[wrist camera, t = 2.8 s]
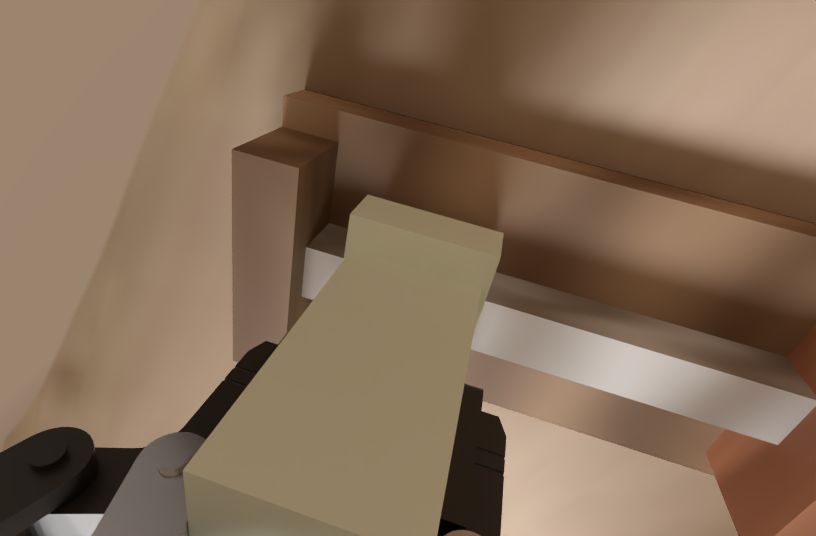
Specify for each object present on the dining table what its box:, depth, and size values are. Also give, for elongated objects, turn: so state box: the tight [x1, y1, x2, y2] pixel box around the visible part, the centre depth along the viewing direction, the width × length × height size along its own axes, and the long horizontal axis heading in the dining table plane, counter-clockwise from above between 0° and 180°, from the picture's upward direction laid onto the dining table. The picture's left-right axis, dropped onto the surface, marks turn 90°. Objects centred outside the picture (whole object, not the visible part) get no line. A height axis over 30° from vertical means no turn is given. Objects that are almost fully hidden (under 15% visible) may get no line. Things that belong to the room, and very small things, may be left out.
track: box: [232, 90, 816, 536], centre depth 15 cm, size 20×10×6 cm, turn 79°
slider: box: [183, 195, 504, 536], centre depth 12 cm, size 4×7×10 cm, turn 169°
